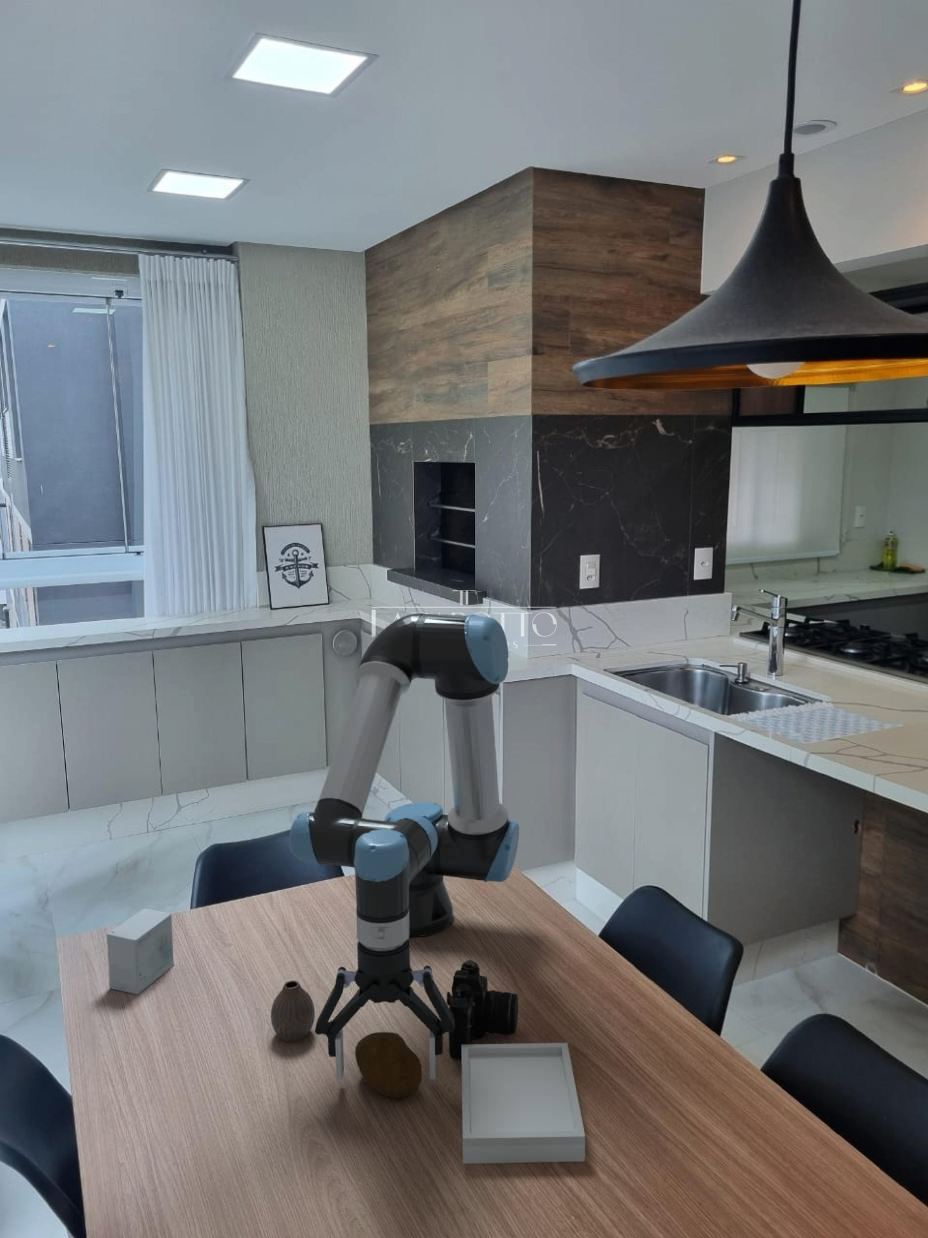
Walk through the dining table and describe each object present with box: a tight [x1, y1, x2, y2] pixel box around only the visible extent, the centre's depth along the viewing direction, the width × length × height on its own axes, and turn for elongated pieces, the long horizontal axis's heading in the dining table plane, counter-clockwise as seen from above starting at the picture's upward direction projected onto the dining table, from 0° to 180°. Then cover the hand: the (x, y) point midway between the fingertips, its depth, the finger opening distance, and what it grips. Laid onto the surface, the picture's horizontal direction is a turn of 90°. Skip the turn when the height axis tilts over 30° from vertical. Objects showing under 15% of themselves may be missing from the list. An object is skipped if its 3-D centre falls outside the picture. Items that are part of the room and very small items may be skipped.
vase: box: [270, 980, 316, 1043], centre depth 152 cm, size 7×7×9 cm
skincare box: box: [106, 908, 175, 995], centre depth 169 cm, size 10×6×10 cm, turn 161°
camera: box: [446, 959, 519, 1061], centre depth 151 cm, size 14×11×10 cm
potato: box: [354, 1031, 423, 1099], centre depth 139 cm, size 8×12×8 cm, turn 53°
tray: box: [461, 1042, 586, 1165], centre depth 134 cm, size 20×16×4 cm
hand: (386, 1074), depth 139 cm, fingers open, 13 cm apart
